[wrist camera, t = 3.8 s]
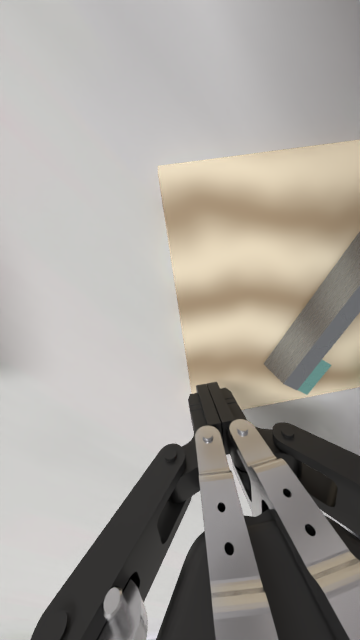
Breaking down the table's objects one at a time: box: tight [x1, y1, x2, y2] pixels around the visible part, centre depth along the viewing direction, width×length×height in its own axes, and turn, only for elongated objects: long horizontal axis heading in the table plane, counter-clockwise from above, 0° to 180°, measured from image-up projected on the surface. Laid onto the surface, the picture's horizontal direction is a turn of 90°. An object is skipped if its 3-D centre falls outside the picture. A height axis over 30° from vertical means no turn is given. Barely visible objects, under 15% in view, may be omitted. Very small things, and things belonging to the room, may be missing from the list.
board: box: [158, 140, 360, 410], centre depth 17 cm, size 21×24×1 cm
